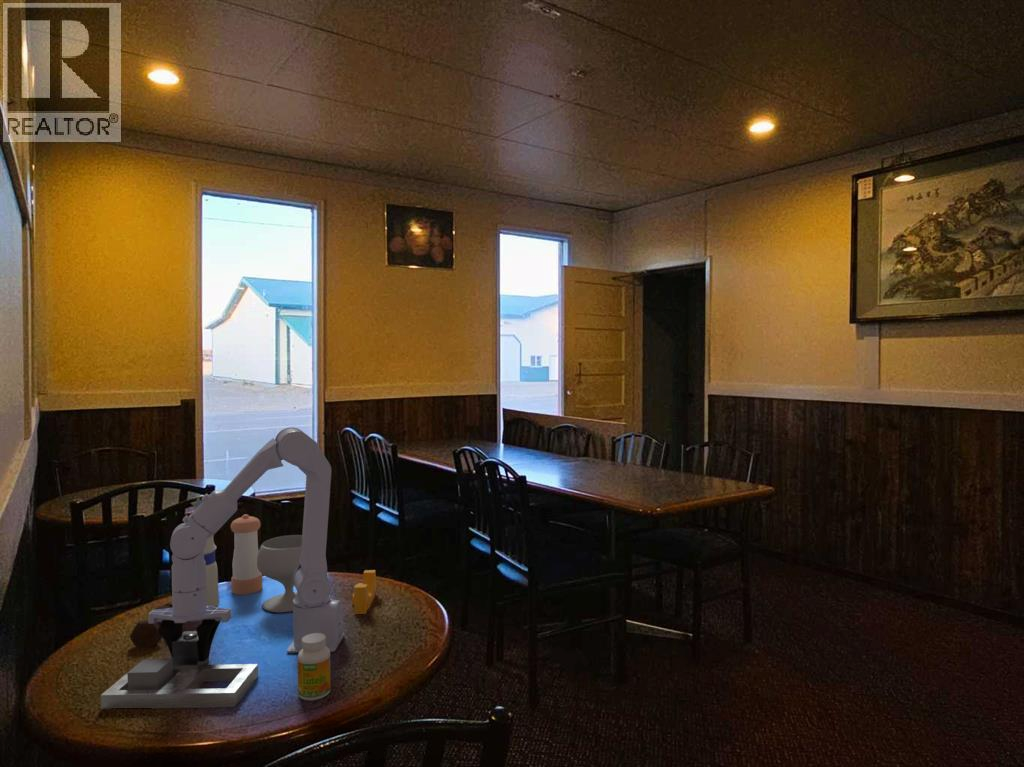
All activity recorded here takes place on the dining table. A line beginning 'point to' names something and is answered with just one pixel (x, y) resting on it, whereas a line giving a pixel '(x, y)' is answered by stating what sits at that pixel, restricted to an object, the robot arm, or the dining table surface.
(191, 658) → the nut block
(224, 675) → the tray
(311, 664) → the supplement bottle
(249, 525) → the salt shaker
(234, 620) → the dining table surface
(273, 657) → the dining table surface
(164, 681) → the slate block
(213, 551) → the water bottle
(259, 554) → the chalice
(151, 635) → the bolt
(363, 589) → the pipe clamp
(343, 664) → the dining table surface
